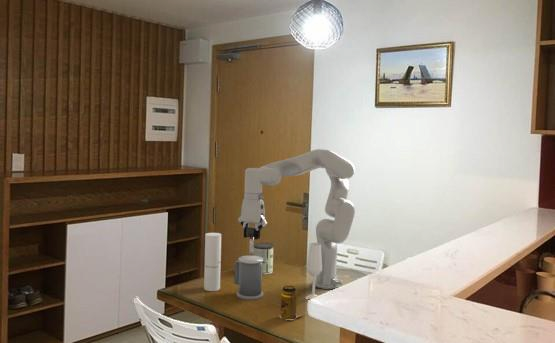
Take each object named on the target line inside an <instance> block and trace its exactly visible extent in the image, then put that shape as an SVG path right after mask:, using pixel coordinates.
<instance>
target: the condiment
mask: <svg viewBox="0 0 555 343" xmlns="http://www.w3.org/2000/svg"><path fill="white" fill-rule="evenodd" d="M297 300H298V296H297V287H296V286H293V285H283V287H282V292H281V297H280V315H281V317H282V318H283V319H295V318H296V314H297V303H298V302H297ZM283 319H282V320H283Z"/></svg>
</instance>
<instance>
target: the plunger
mask: <svg viewBox="0 0 555 343" xmlns="http://www.w3.org/2000/svg"><path fill="white" fill-rule="evenodd" d="M255 230H256V227H255V226H248V227H246V236H247V237H246V238H249V254H251V255H254V241H255V239H254V237H255Z"/></svg>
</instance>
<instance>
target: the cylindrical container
mask: <svg viewBox="0 0 555 343" xmlns="http://www.w3.org/2000/svg"><path fill="white" fill-rule="evenodd" d="M221 256H222V233H220V232H207V233H205V239H204V276H203V278H204V279H203V282H204V283H203V289H204V290H205V291H208V292H215V291H219V290H221V260H222V257H221Z"/></svg>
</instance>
